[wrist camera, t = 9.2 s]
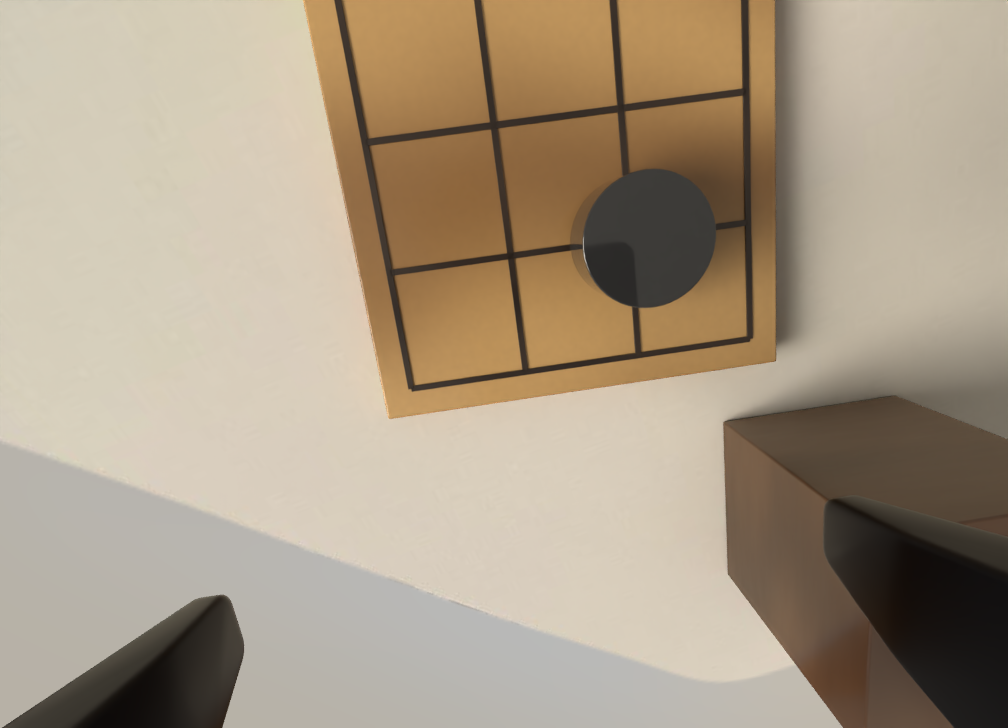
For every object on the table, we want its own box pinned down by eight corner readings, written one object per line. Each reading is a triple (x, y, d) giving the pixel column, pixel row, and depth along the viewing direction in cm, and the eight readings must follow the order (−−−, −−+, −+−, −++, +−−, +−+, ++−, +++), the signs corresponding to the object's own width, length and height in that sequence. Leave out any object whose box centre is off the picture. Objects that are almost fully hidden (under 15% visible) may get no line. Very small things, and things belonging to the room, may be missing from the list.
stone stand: (886, 548, 23) (1104, 715, 15) (727, 574, 22) (863, 756, 15) (895, 394, 21) (1148, 493, 13) (722, 421, 21) (874, 536, 13)
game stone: (691, 290, 18) (718, 298, 16) (576, 307, 18) (589, 317, 16) (686, 167, 17) (714, 159, 15) (563, 184, 17) (576, 178, 15)
